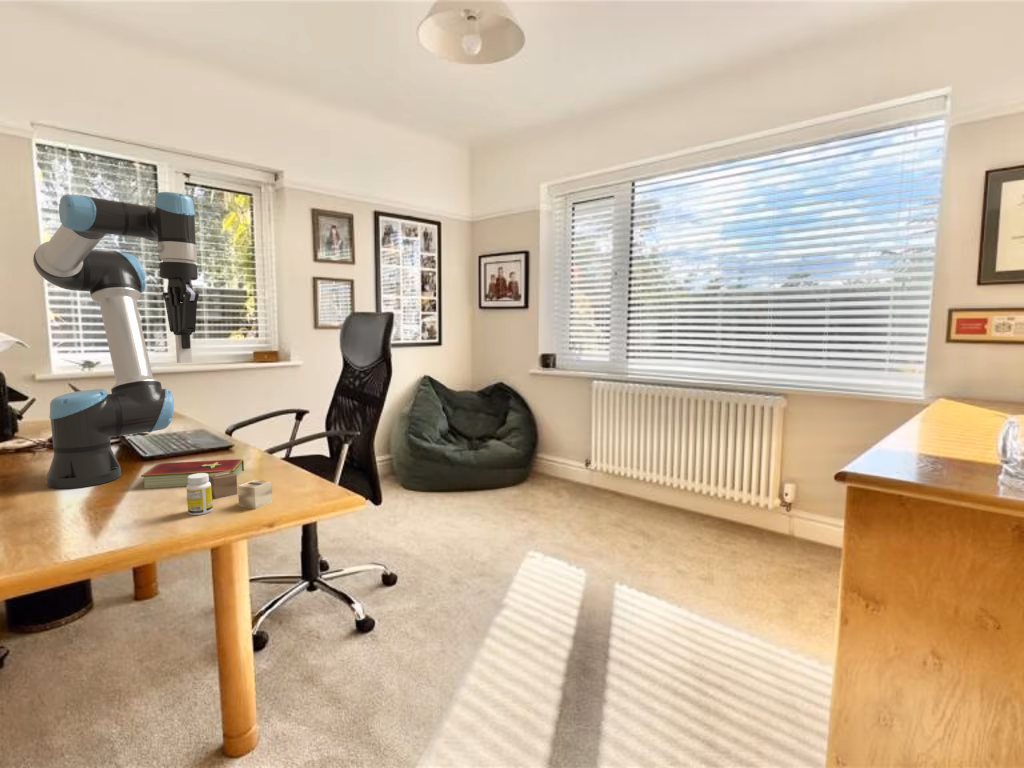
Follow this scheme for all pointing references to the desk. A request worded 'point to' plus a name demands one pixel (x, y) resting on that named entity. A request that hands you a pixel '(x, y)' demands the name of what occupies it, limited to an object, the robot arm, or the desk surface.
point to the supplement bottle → (199, 494)
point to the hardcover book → (187, 471)
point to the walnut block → (223, 484)
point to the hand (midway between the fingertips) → (184, 362)
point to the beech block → (255, 494)
